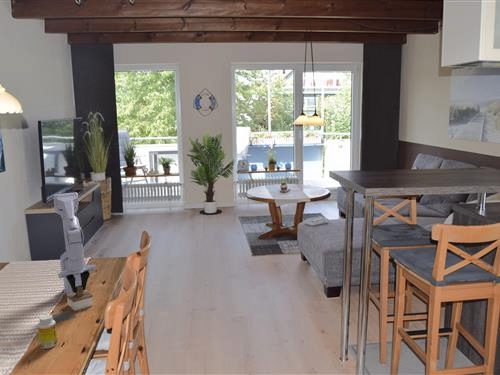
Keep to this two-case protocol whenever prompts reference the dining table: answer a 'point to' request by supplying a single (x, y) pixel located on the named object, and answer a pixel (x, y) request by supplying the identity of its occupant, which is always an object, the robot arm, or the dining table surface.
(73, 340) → the dining table surface
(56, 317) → the mat
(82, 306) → the dish
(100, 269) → the dining table surface
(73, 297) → the lid
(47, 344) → the supplement bottle
